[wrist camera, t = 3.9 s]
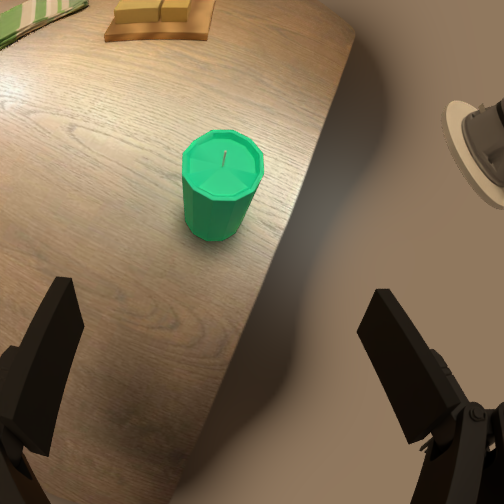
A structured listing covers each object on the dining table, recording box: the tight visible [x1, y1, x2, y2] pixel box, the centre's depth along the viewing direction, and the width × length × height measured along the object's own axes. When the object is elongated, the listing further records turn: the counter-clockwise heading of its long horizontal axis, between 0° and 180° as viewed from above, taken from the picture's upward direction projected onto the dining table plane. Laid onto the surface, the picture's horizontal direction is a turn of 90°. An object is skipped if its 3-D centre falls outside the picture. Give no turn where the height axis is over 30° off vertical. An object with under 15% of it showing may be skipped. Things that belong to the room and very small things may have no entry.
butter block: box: [114, 0, 163, 24], centre depth 34 cm, size 7×4×3 cm, turn 90°
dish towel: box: [0, 0, 88, 50], centre depth 33 cm, size 18×23×3 cm
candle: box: [182, 130, 264, 241], centre depth 25 cm, size 6×6×12 cm
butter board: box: [104, 0, 215, 42], centre depth 37 cm, size 16×14×2 cm
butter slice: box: [161, 0, 191, 22], centre depth 35 cm, size 4×4×3 cm
